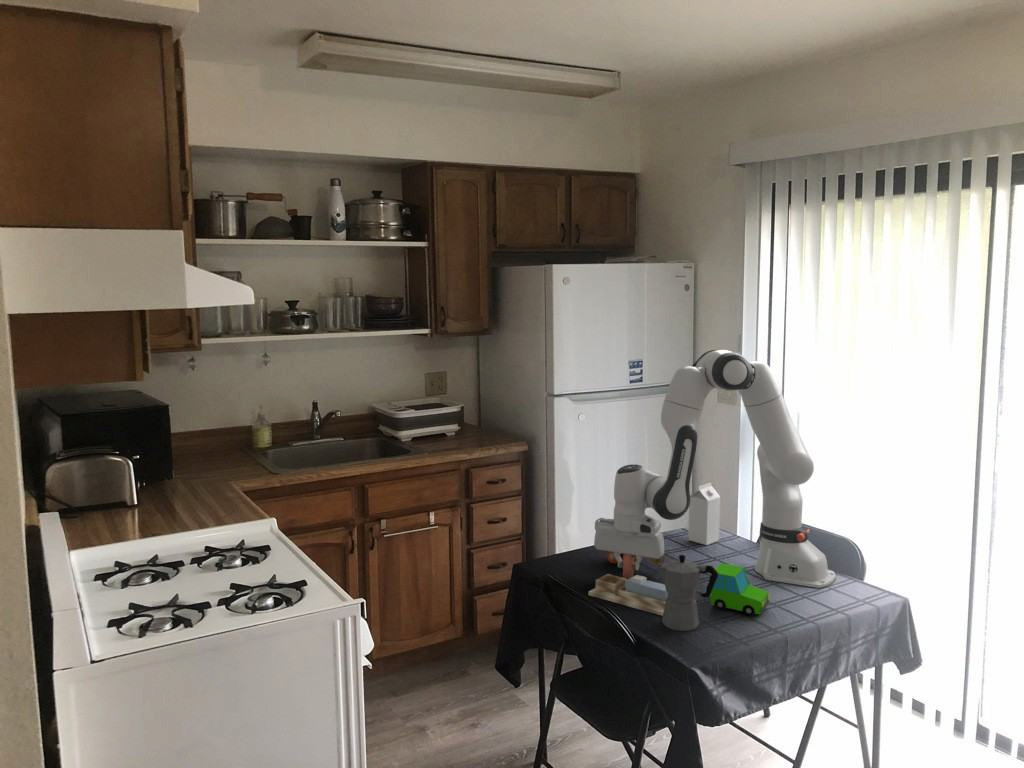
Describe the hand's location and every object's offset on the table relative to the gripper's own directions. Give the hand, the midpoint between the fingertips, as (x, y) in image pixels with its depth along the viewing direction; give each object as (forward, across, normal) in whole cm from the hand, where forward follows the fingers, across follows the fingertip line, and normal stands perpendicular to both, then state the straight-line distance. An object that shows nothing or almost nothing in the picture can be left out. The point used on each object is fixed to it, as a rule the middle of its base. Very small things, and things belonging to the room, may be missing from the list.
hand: (628, 568), depth 243 cm
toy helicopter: (+4, -2, +11) cm, 12 cm away
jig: (+3, +7, -13) cm, 15 cm away
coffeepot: (+4, +23, -23) cm, 33 cm away
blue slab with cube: (+2, +10, -13) cm, 17 cm away
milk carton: (+4, +11, +44) cm, 45 cm away
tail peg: (+3, 0, 0) cm, 3 cm away
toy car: (+4, +33, -7) cm, 34 cm away
